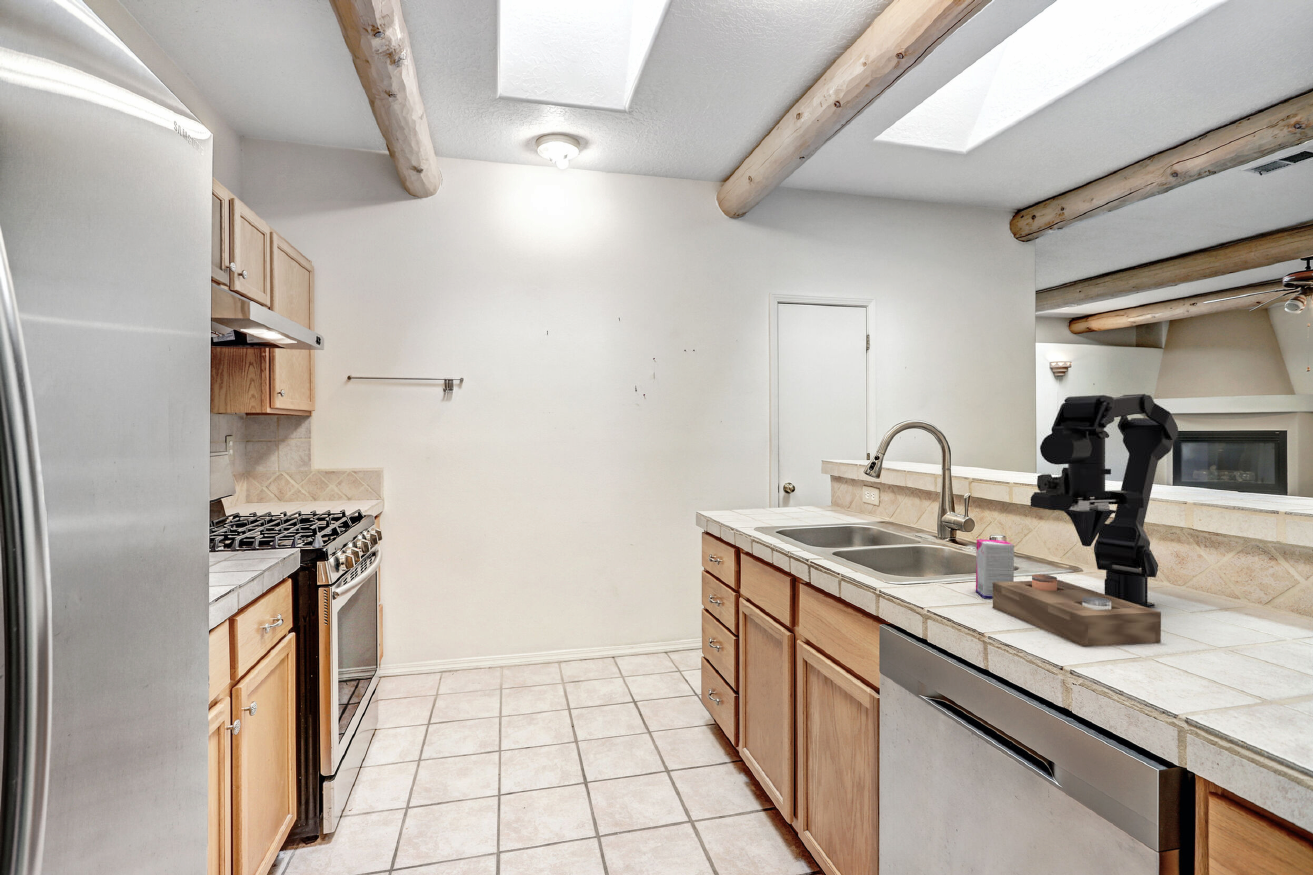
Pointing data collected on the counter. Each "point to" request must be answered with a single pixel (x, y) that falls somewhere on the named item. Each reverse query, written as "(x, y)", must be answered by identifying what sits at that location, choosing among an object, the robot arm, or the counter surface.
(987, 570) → the supplement box
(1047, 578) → the terracotta plug
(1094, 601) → the plug
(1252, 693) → the counter surface
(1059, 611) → the wooden holder block
